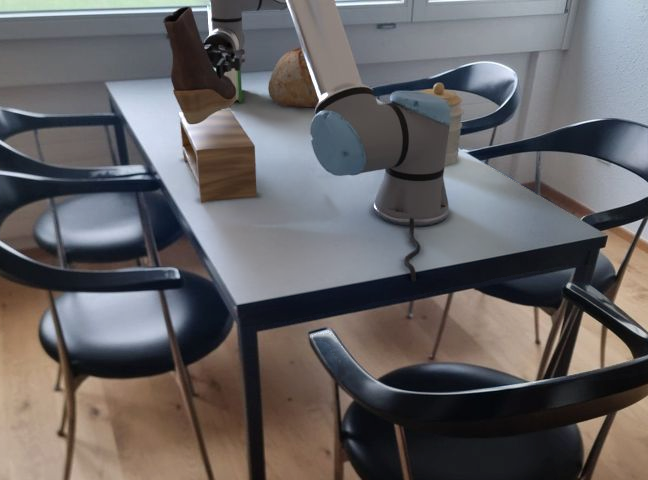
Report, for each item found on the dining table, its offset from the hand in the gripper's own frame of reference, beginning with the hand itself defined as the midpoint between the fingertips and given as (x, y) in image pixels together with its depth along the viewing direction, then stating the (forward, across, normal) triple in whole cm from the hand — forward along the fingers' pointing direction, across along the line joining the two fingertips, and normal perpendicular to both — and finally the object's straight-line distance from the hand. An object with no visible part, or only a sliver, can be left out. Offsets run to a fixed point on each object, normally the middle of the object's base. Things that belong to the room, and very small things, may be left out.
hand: (201, 71), depth 145 cm
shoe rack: (0, -2, -22) cm, 23 cm away
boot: (0, -2, -8) cm, 8 cm away
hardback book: (-71, +8, -23) cm, 75 cm away
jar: (-18, -52, -23) cm, 59 cm away
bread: (-68, -19, -23) cm, 74 cm away
